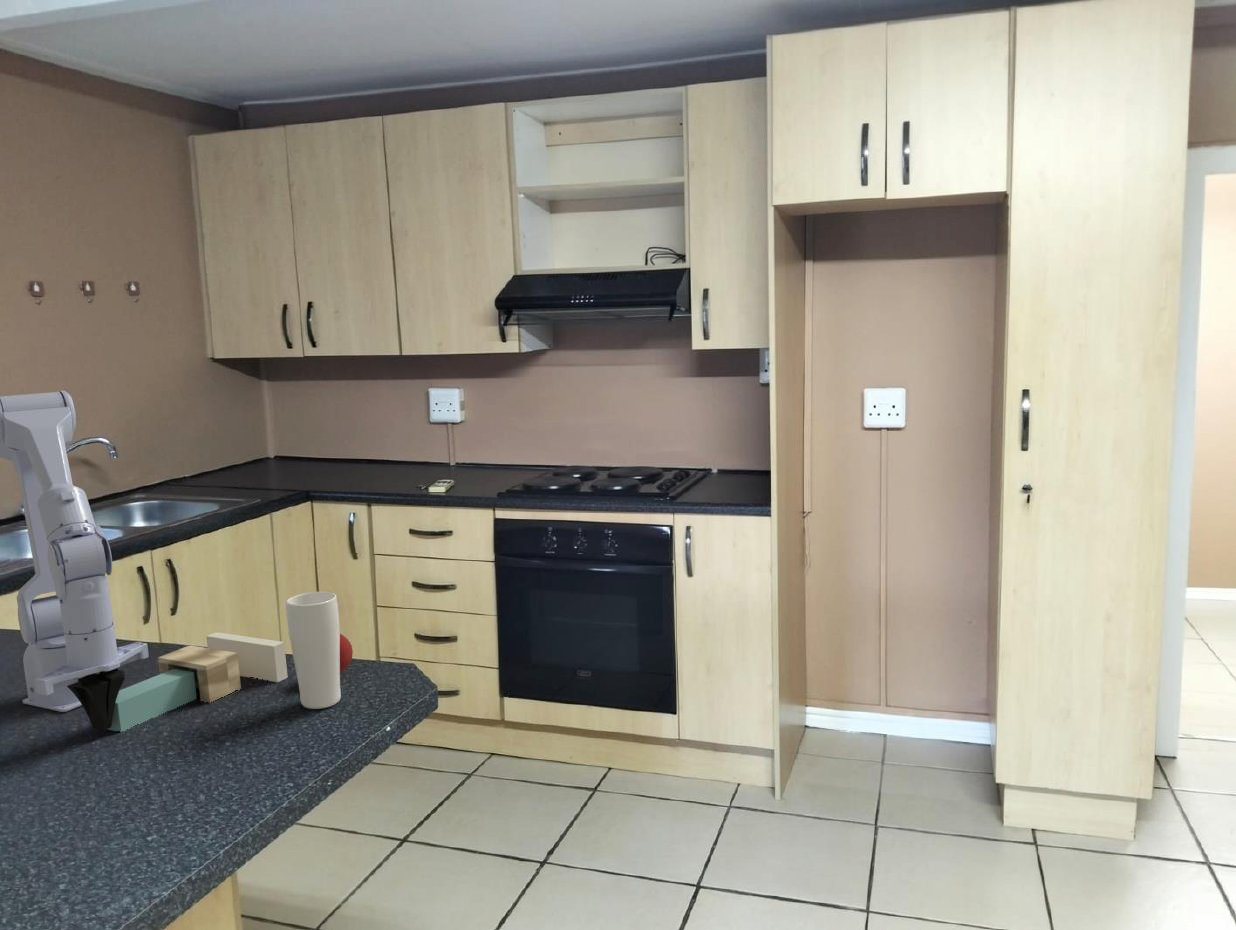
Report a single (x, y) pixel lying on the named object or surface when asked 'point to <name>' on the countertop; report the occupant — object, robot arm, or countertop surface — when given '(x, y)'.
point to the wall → (253, 655)
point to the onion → (345, 653)
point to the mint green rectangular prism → (152, 698)
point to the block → (206, 670)
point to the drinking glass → (315, 647)
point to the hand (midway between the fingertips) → (102, 727)
